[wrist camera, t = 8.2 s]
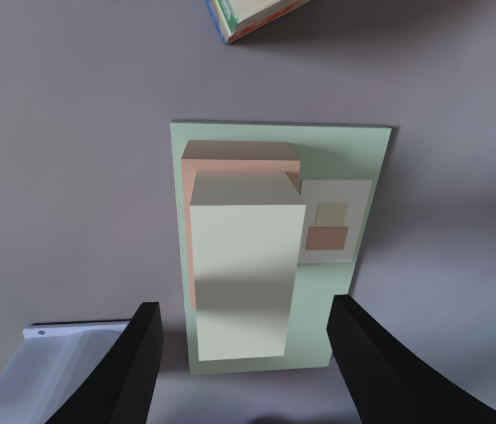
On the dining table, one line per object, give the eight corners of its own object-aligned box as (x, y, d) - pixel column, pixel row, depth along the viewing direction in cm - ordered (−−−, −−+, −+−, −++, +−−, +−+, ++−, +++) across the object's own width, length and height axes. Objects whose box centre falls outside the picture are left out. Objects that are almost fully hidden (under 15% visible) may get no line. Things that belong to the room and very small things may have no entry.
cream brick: (202, 303, 18) (199, 360, 15) (196, 170, 14) (189, 205, 11) (271, 300, 19) (283, 355, 15) (284, 171, 15) (305, 204, 11)
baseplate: (190, 366, 29) (186, 421, 24) (172, 119, 18) (157, 137, 13) (324, 357, 30) (343, 407, 26) (383, 125, 19) (433, 143, 15)
